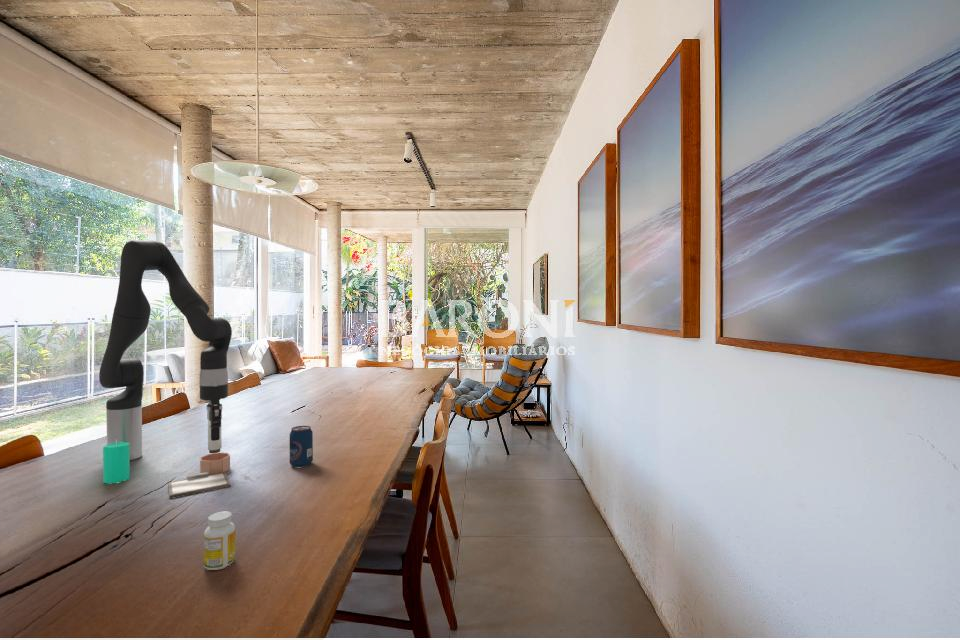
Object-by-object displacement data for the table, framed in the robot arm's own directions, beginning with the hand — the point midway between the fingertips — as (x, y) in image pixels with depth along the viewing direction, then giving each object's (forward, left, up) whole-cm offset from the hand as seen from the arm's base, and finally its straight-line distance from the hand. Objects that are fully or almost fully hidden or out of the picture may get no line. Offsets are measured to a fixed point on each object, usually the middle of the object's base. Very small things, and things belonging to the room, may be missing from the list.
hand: (214, 438), depth 137 cm
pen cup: (0, 0, -10) cm, 10 cm away
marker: (0, 0, -4) cm, 4 cm away
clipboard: (+11, -5, -10) cm, 16 cm away
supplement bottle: (+59, -5, -10) cm, 60 cm away
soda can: (+10, +23, -10) cm, 27 cm away
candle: (-8, -24, -10) cm, 27 cm away
